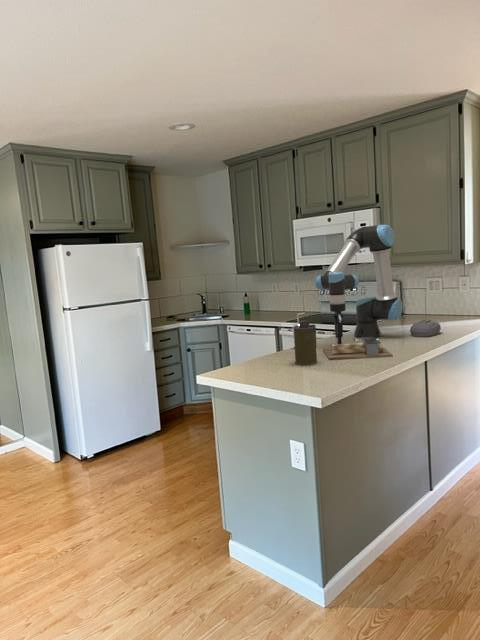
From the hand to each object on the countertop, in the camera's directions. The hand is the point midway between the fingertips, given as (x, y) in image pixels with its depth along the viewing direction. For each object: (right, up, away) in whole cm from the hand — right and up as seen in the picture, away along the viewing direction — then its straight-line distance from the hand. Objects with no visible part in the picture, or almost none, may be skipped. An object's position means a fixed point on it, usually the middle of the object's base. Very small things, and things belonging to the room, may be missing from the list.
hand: (339, 349), depth 242 cm
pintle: (+17, +4, -7) cm, 19 cm away
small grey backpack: (+58, +6, +38) cm, 69 cm away
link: (+8, -1, -5) cm, 9 cm away
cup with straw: (-17, -1, +23) cm, 28 cm away
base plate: (+8, -2, -1) cm, 8 cm away
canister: (-19, -5, -15) cm, 25 cm away
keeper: (+13, -1, -8) cm, 15 cm away
